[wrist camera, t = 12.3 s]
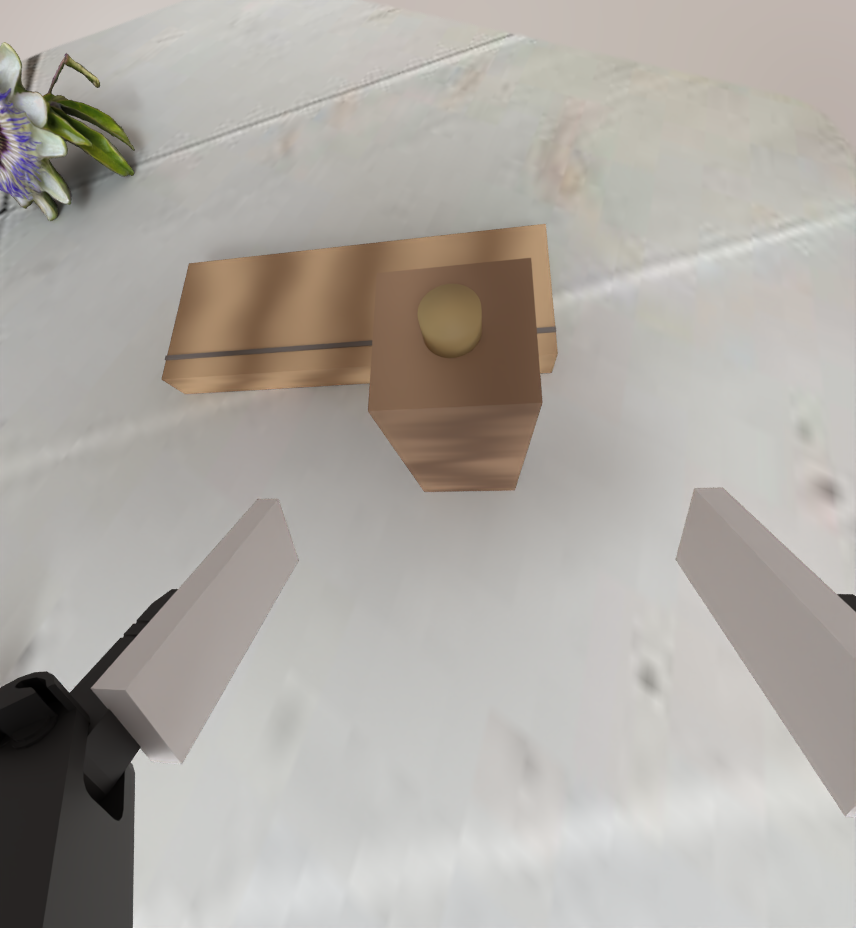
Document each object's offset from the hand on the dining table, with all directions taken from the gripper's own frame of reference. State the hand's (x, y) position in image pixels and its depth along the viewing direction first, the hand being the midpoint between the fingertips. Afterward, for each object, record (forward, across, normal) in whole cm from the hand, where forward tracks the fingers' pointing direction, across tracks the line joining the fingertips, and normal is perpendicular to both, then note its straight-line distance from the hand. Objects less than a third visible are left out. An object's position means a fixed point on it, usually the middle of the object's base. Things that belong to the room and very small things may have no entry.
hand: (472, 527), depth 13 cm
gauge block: (+10, 0, -2) cm, 10 cm away
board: (+16, -7, +5) cm, 18 cm away
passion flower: (+29, -35, +17) cm, 48 cm away
